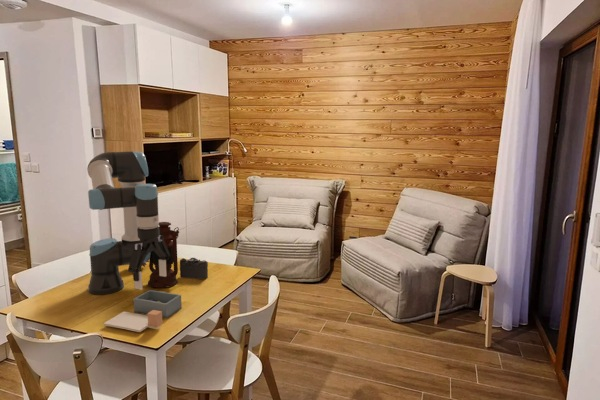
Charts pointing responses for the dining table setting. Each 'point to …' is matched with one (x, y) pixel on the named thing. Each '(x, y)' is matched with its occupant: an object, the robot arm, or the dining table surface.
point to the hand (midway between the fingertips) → (151, 282)
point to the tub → (157, 303)
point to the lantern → (154, 259)
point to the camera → (193, 268)
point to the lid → (136, 321)
